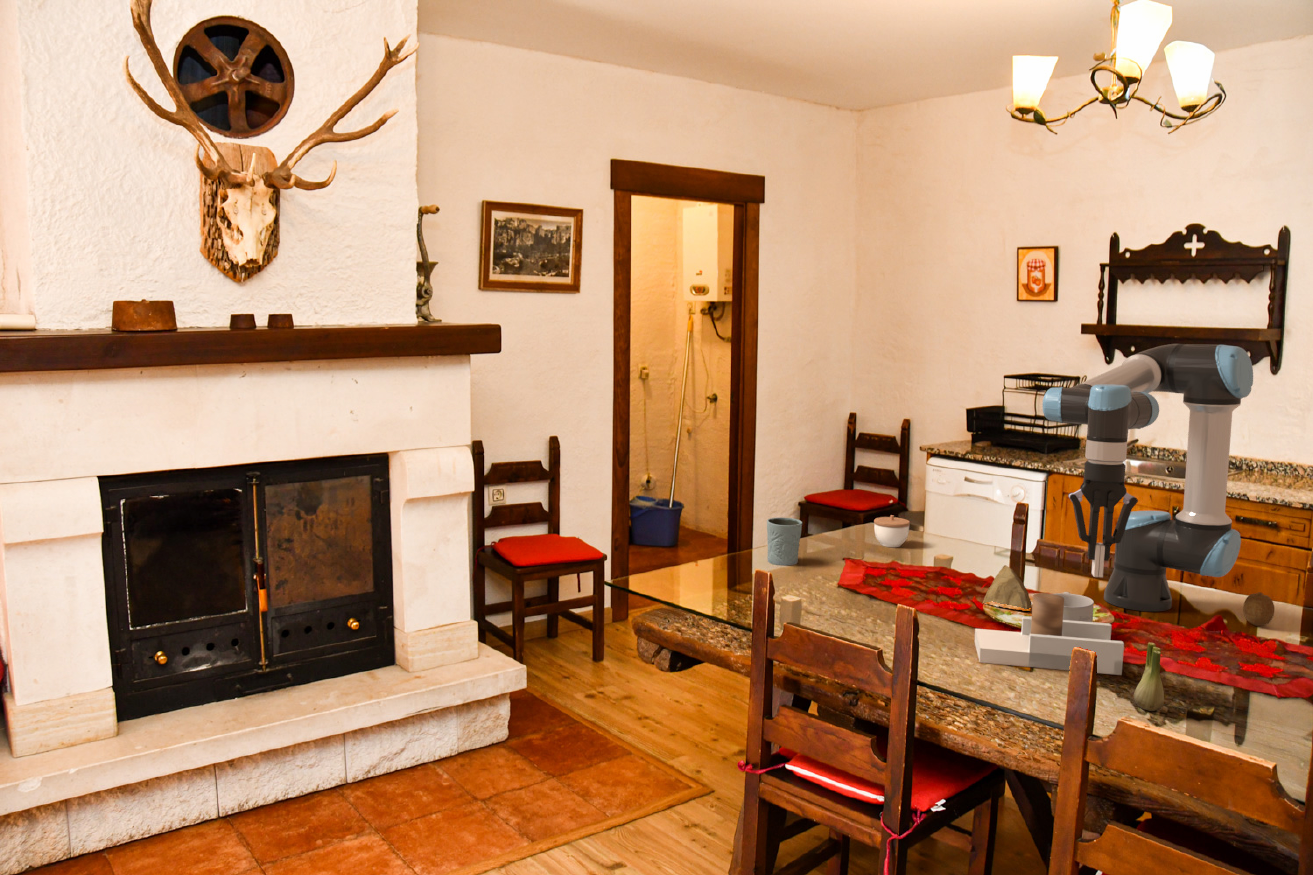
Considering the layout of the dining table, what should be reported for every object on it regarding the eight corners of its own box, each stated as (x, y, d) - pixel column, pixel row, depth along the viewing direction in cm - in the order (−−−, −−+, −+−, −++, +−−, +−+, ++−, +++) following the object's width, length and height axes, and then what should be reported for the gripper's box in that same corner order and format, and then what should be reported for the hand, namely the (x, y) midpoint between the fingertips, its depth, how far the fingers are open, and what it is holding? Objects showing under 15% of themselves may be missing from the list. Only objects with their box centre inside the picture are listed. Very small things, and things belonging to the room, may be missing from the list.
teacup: (1087, 644, 212) (1090, 608, 211) (1035, 634, 217) (1037, 600, 216) (1097, 627, 223) (1099, 593, 222) (1047, 618, 229) (1049, 585, 228)
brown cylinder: (1058, 640, 205) (1061, 594, 203) (1063, 649, 199) (1066, 602, 198) (1028, 637, 206) (1031, 592, 205) (1032, 647, 200) (1035, 600, 199)
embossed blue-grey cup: (776, 555, 286) (777, 515, 284) (807, 561, 280) (808, 520, 278) (759, 562, 278) (760, 521, 276) (790, 568, 272) (791, 526, 270)
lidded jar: (874, 548, 296) (875, 518, 295) (872, 540, 307) (873, 511, 306) (910, 550, 295) (911, 519, 294) (907, 541, 305) (908, 512, 304)
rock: (1045, 603, 234) (1021, 586, 243) (1030, 578, 231) (1006, 562, 240) (1010, 630, 233) (987, 612, 243) (994, 605, 230) (972, 588, 240)
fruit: (1235, 623, 227) (1238, 590, 226) (1253, 620, 230) (1256, 587, 229) (1260, 631, 222) (1264, 597, 221) (1279, 628, 224) (1282, 594, 223)
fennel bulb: (1158, 716, 174) (1163, 652, 172) (1128, 709, 177) (1133, 645, 175) (1167, 707, 178) (1172, 644, 176) (1138, 699, 181) (1143, 637, 180)
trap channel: (1107, 653, 206) (1109, 623, 205) (1121, 675, 194) (1124, 643, 193) (974, 641, 212) (976, 612, 211) (979, 662, 200) (981, 631, 199)
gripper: (1136, 460, 198) (1127, 573, 201) (1067, 457, 201) (1059, 568, 204) (1145, 465, 190) (1136, 582, 193) (1073, 462, 193) (1065, 577, 196)
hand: (1097, 575), depth 198 cm, fingers closed
